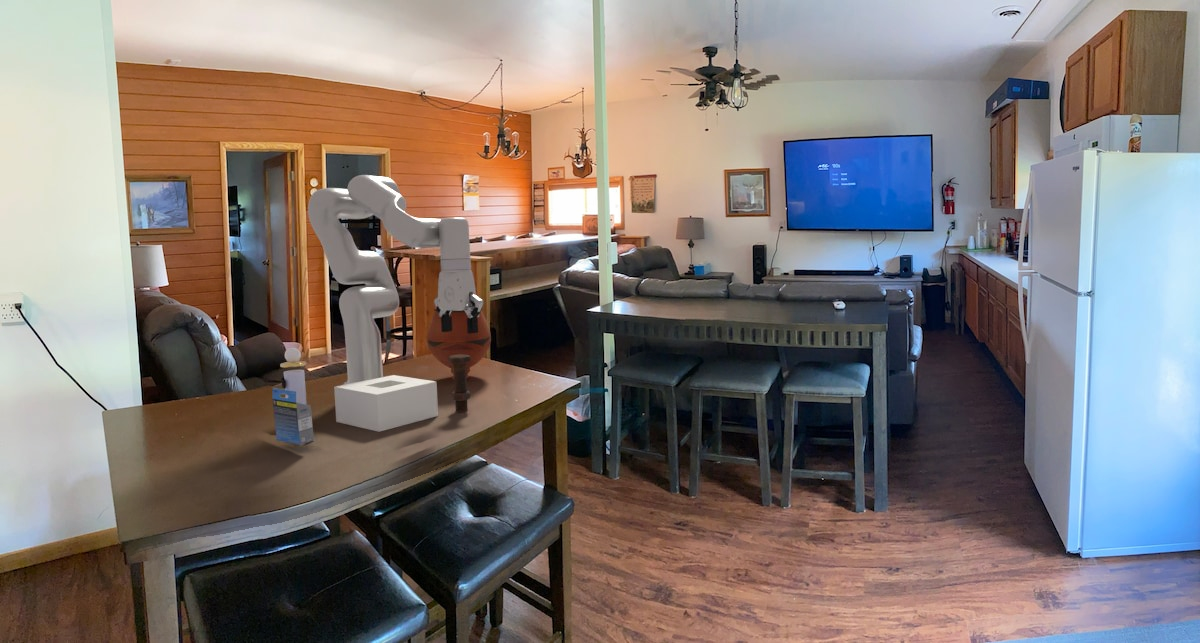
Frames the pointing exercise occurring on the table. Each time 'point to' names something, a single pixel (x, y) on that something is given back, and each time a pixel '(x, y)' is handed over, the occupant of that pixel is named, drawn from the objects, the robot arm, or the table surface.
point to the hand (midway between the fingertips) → (459, 332)
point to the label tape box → (292, 418)
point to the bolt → (460, 381)
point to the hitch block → (386, 402)
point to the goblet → (458, 339)
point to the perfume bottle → (294, 375)
